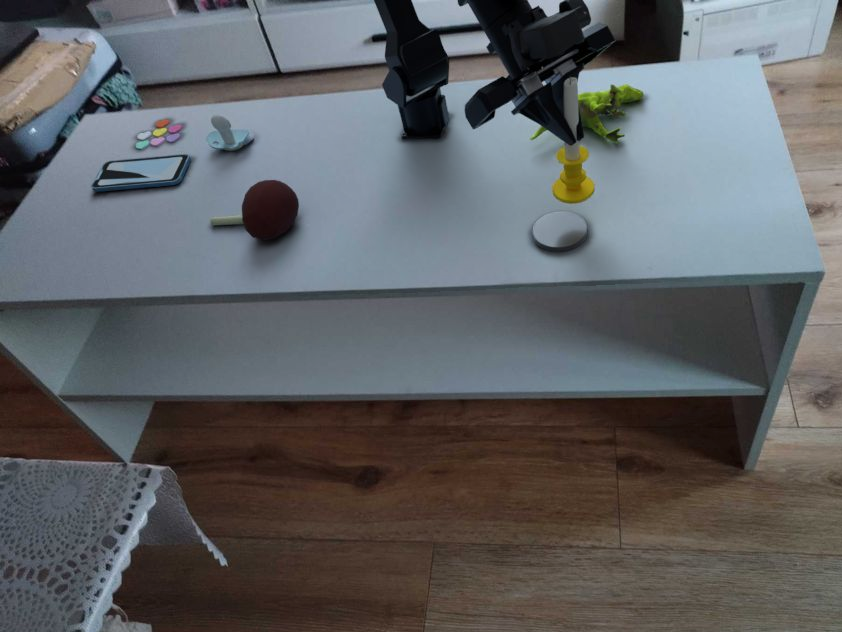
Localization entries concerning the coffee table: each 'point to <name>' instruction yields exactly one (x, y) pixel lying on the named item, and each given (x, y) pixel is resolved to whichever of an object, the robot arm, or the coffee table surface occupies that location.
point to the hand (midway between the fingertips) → (577, 141)
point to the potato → (269, 209)
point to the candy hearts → (159, 133)
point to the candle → (572, 155)
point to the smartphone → (141, 172)
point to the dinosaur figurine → (602, 108)
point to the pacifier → (227, 135)
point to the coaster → (559, 231)
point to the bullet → (226, 220)
